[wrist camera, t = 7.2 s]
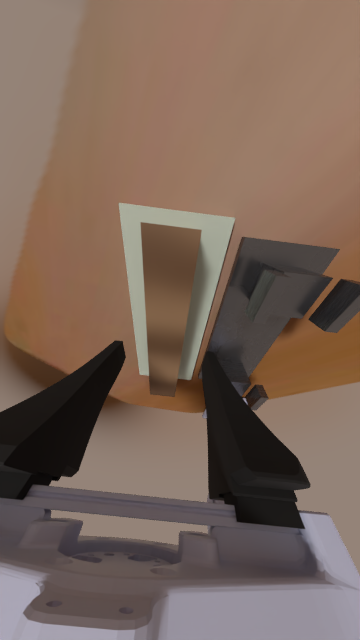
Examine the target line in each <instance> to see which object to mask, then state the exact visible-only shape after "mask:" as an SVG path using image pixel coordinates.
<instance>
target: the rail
mask: <svg viewBox="0 0 360 640" xmlns="http://www.w3.org/2000/svg"><path fill="white" fill-rule="evenodd" d="M140 223H141V240H142V258H143V276H144V294H145V311H146V329H147V347H148V365H149V382H150V394H153V395H162V396H171V397H175V391H176V385H177V379H178V373H179V367H180V360H181V354H182V348H183V342H184V336H185V330H186V324H187V318H188V312H189V306H190V300H191V293H192V287H193V281H194V275H195V269H196V263H197V257H198V251H199V245H200V239H201V232H202V230H199V229H191V228H183V227H175V226H167V225H159V224H152V223H144V222H140Z"/></svg>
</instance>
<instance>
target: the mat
mask: <svg viewBox="0 0 360 640" xmlns="http://www.w3.org/2000/svg"><path fill="white" fill-rule="evenodd" d="M119 211H120V219H121V227H122V235H123V243H124V251H125V259H126V267H127V275H128V283H129V291H130V299H131V307H132V316H133V324H134V332H135V340H136V348H137V356H138V364H139V372H140V375H149V365H148V347H147V329H146V311H145V294H144V276H143V258H142V240H141V223H140V222H144V223H152V224H159V225H167V226H175V227H183V228H191V229H199V230H202V232H201V239H200V245H199V251H198V257H197V263H196V269H195V275H194V281H193V287H192V293H191V300H190V306H189V312H188V318H187V324H186V330H185V336H184V342H183V348H182V354H181V360H180V367H179V373H178V379H186V380H191V378H192V374H193V370H194V367H195V363H196V359H197V356H198V352H199V349H200V345H201V341H202V338H203V334H204V330H205V327H206V323H207V319H208V316H209V312H210V308H211V305H212V301H213V297H214V294H215V290H216V287H217V283H218V279H219V276H220V272H221V268H222V265H223V261H224V257H225V254H226V250H227V246H228V243H229V239H230V235H231V232H232V228H233V225H234V221H235V218H231V217H224V216H216V215H208V214H201V213H193V212H185V211H178V210H170V209H162V208H155V207H147V206H139V205H131V204H124V203H119Z"/></svg>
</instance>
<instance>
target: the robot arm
mask: <svg viewBox="0 0 360 640" xmlns="http://www.w3.org/2000/svg"><path fill="white" fill-rule="evenodd" d="M125 358H126V356H125V351H124V346H123V341H114V342H113V343H112V344H110V345H109V346H108V347H107V348H105V349H104V350H103V351H102V352H100V353H99V354H98V355H96V356H95V357H94V358H93V359H91V360H90V361H89V362H87V363H86V364H84V365H83V366H82V367H80V368H79V369H77V370H76V371H75V372H73V373H72V374H70V375H68V376H67V377H65V378H64V379H62V380H61V381H59V382H57V383H56V384H54V385H52V386H50V387H48V388H47V389H45V390H43V391H41V392H40V393H38V394H36V395H34V396H32V397H30V398H28V399H27V400H24V401H22V402H21V403H18V404H17V405H15V406H12V407H10V408H8V409H6V410H4V411H2V412H0V640H360V575H359V573H358V571H357V569H356V567H355V565H354V563H353V561H352V559H351V557H350V555H349V553H348V551H347V549H346V547H345V545H344V543H343V541H342V539H341V537H340V535H339V533H338V531H337V529H336V527H335V525H334V523H333V521H332V519H331V517H330V516H329V515H328V514H327V513H321V512H312V511H299V510H298V509H297V506H296V504H295V502H297V498H296V495H295V493H294V490H300V489H306V488H309V487H310V483H309V481H308V478H307V476H306V474H305V472H304V470H303V468H302V466H301V464H300V462H299V460H298V458H297V457H296V456H295V455H294V454H293V453H292V452H291V451H290V450H289V449H288V448H287V447H286V446H285V445H284V444H283V443H282V442H281V441H280V440H278V438H277V437H276V436H275V435H274V434H273V433H272V432H271V431H270V430H269V429H268V428H267V427H266V426H265V424H264V423H263V422H262V421H261V420H260V419H259V418H258V417H257V415H256V414H255V413H254V412H253V411H252V410H251V408H250V407H249V406H248V404H247V401H246V398H242V397H241V396H240V394H239V393H238V392H237V390H236V389H235V387H234V386H233V384H232V383H231V381H230V380H229V378H228V377H227V375H226V373H225V372H224V370H223V368H222V367H221V365H220V363H219V361H218V359H217V357H216V355H215V353H214V352H209V351H206V354H205V357H204V360H203V363H202V382H203V390H204V397H205V404H206V409H205V411H204V413H203V415H202V417H203V418H206V419H207V434H208V473H209V474H208V475H209V476H208V480H209V481H208V483H209V486H208V487H209V493H208V498H207V502H198V501H188V500H178V499H168V498H159V497H150V496H139V495H131V494H121V493H111V492H101V491H92V490H82V489H72V488H63V487H54V486H49V484H50V483H51V481H52V480H55V481H58V480H59V479H60V477H61V476H66V477H72V476H73V475H74V474H76V473H77V471H78V470H79V467H80V464H81V461H82V459H83V456H84V453H85V450H86V447H87V444H88V442H89V439H90V436H91V433H92V431H93V428H94V425H95V423H96V421H97V418H98V416H99V413H100V411H101V408H102V406H103V403H104V401H105V399H106V397H107V395H108V393H109V391H110V389H111V387H112V386H113V384H114V382H115V380H116V378H117V376H118V374H119V372H120V370H121V368H122V366H123V363H124V361H125ZM50 509H51V510H61V511H71V512H80V513H90V514H100V515H110V516H120V517H129V518H139V519H149V520H159V521H169V522H178V523H188V524H198V525H207V526H208V534H206V533H202V532H194V531H180V533H179V545H173V544H167V543H159V542H153V541H146V540H137V539H128V538H115V537H97V536H79V533H80V530H81V528H82V525H83V521H81V520H75V519H69V518H51V510H50Z"/></svg>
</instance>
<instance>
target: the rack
mask: <svg viewBox="0 0 360 640" xmlns="http://www.w3.org/2000/svg"><path fill="white" fill-rule="evenodd" d="M339 250H340V249H333V248H326V247H318V246H310V245H302V244H294V243H287V242H279V241H271V240H263V239H255V238H247V237H242V239H241V242H240V245H239V248H238V252H237V255H236V258H235V261H234V264H233V267H232V270H231V273H230V277H229V280H228V283H227V286H226V289H225V292H224V295H223V299H222V302H221V305H220V308H219V311H218V314H217V317H216V321H215V324H214V327H213V330H212V333H211V336H210V339H209V342H208V346H207V349H206V351H209V352H214V353H215V355H216V357H217V359H218V361H219V363H220V365H221V367H222V368H223V370H224V372H225V373H226V375H227V377H228V378H229V380H230V381H231V383H232V384H233V386H234V387H235V389H236V390H237V392H238V393H239V394H240V396H242V395H243V394H244V392H245V391H246V390H247V389H248V387H249V386H250V385H251V383H250V380H249V378H248V377H249V376H250V375H251V373H252V372H253V370H254V369H255V368H256V366H257V365H258V363H259V362H260V361H261V359H262V358H263V356H264V355H265V354H266V352H267V351H268V349H269V348H270V347H271V345H272V344H273V342H274V341H275V340H276V338H277V337H278V335H279V334H280V333H281V331H282V330H283V328H284V327H285V326H286V324H287V323H288V322H289V320H290V319H291V317H292V318H300V319H302V317H303V316H304V315H305V314H306V312H307V311H308V310H309V308H310V307H311V306H312V305H313V303H314V302H315V301H316V299H317V298H318V297H319V295H320V294H321V293H322V292H323V290H324V289H325V288H326V286H327V285H328V284H329V283H330V281H331V280H332V279H333V278H331V277H328V276H325V275H322V274H323V273H324V271H325V270H326V268H327V267H328V266H329V264H330V263H331V261H332V260H333V259H334V257H335V256H336V254H337V253H338V252H339ZM359 311H360V282H357V281H353V280H345V279H341V280H340V281H339V282H338V283H337V285H336V286H335V287H334V288H333V290H332V291H331V292H330V293H329V294H328V296H327V297H326V298H325V299H324V301H323V302H322V303H321V304H320V306H319V307H318V308H317V309H316V310H315V312H314V313H313V314H312V315H311V317H310V318H309V319H308V320H310V321H311V322H312V323H314V324H315V325H317V326H318V327H319V328H321V329H322V330H323V331H326V332H334V333H337V332H338V331H339V330H340V329H341V328H342V327H343V326H344V325H345V324H346V323H347V322H348V321H350V320H351V319H352V318H353V317H354V316H355V315H356V314H357V313H358V312H359ZM205 354H206V352H205ZM204 357H205V355H204ZM203 360H204V358H203ZM202 363H203V361H202ZM198 378H200V379H202V364H201V368H200V371H199V374H198ZM245 398H246V401H247V404H248V406H249V407H250V408H251V410H257V409H258V408H259V407H260V406H261V405H262V404H263V403H264V402H265V401H266V400H267V399H268V396H267V394H266V392H265V390H264V388H263V386H262V385H256V384H255V386H254V387H253V388H252V389H251V390H250V392H249V393H248V394H247V395H246V397H245Z"/></svg>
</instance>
